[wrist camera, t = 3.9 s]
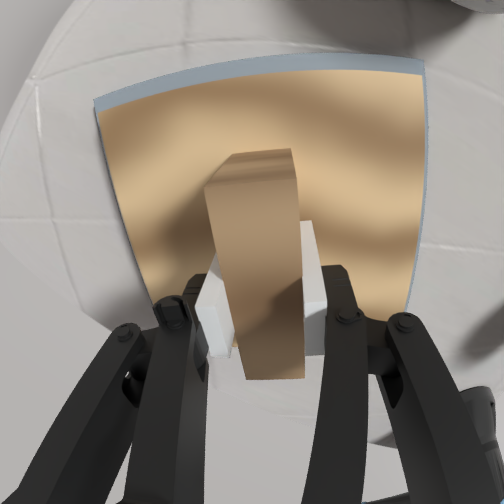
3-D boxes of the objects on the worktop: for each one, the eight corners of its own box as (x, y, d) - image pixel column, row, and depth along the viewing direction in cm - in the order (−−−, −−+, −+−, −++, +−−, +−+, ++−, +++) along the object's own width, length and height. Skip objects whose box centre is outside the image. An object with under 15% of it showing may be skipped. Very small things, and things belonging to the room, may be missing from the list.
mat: (399, 322, 22) (401, 329, 21) (170, 333, 25) (167, 339, 24) (417, 60, 12) (423, 59, 11) (100, 98, 15) (93, 99, 14)
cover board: (393, 325, 21) (417, 399, 14) (174, 334, 23) (147, 404, 17) (412, 76, 12) (489, 73, 6) (107, 111, 15) (24, 130, 8)
